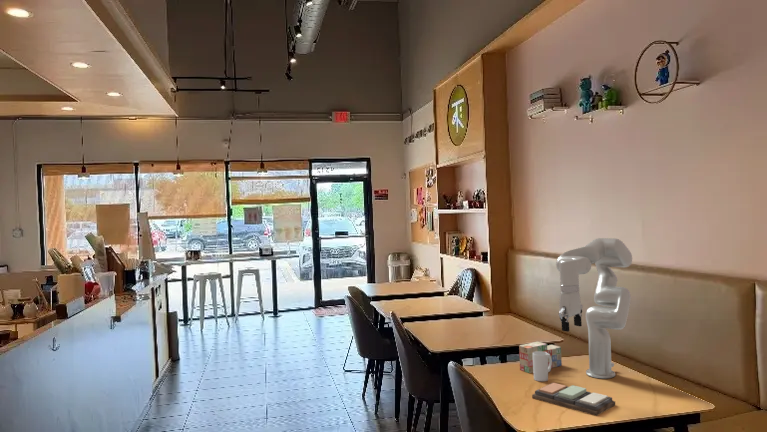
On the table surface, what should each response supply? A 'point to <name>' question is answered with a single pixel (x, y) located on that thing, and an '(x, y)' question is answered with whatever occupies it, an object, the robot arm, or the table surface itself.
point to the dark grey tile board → (575, 402)
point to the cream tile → (594, 399)
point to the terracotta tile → (552, 388)
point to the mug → (541, 365)
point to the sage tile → (572, 392)
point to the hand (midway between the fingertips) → (571, 328)
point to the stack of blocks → (528, 350)
